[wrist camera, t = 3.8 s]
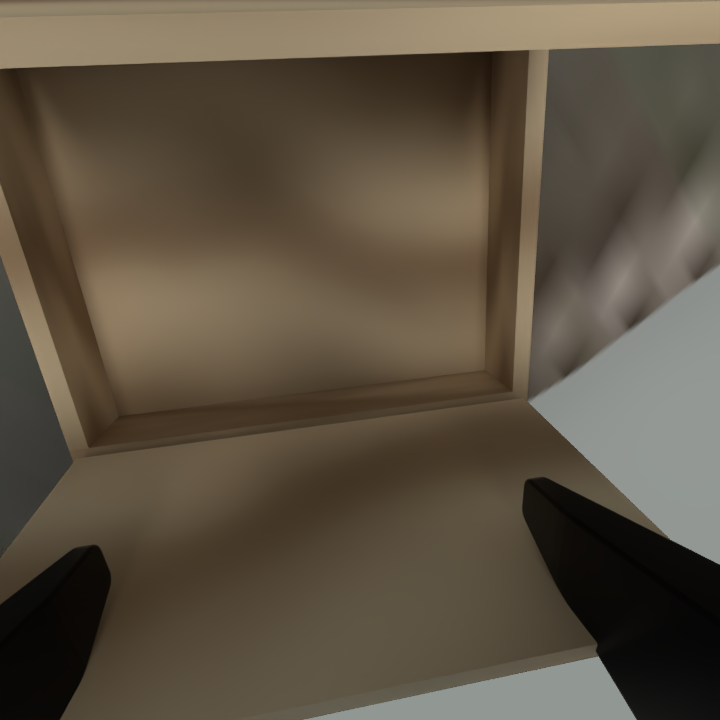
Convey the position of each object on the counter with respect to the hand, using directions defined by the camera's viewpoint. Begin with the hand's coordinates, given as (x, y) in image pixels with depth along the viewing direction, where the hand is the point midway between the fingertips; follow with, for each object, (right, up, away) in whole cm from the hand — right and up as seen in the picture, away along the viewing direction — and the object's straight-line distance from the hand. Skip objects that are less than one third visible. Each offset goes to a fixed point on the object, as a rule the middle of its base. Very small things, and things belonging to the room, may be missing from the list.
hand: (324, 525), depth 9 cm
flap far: (0, 0, +2) cm, 2 cm away
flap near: (-1, +10, -1) cm, 10 cm away
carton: (-2, +8, +6) cm, 10 cm away
